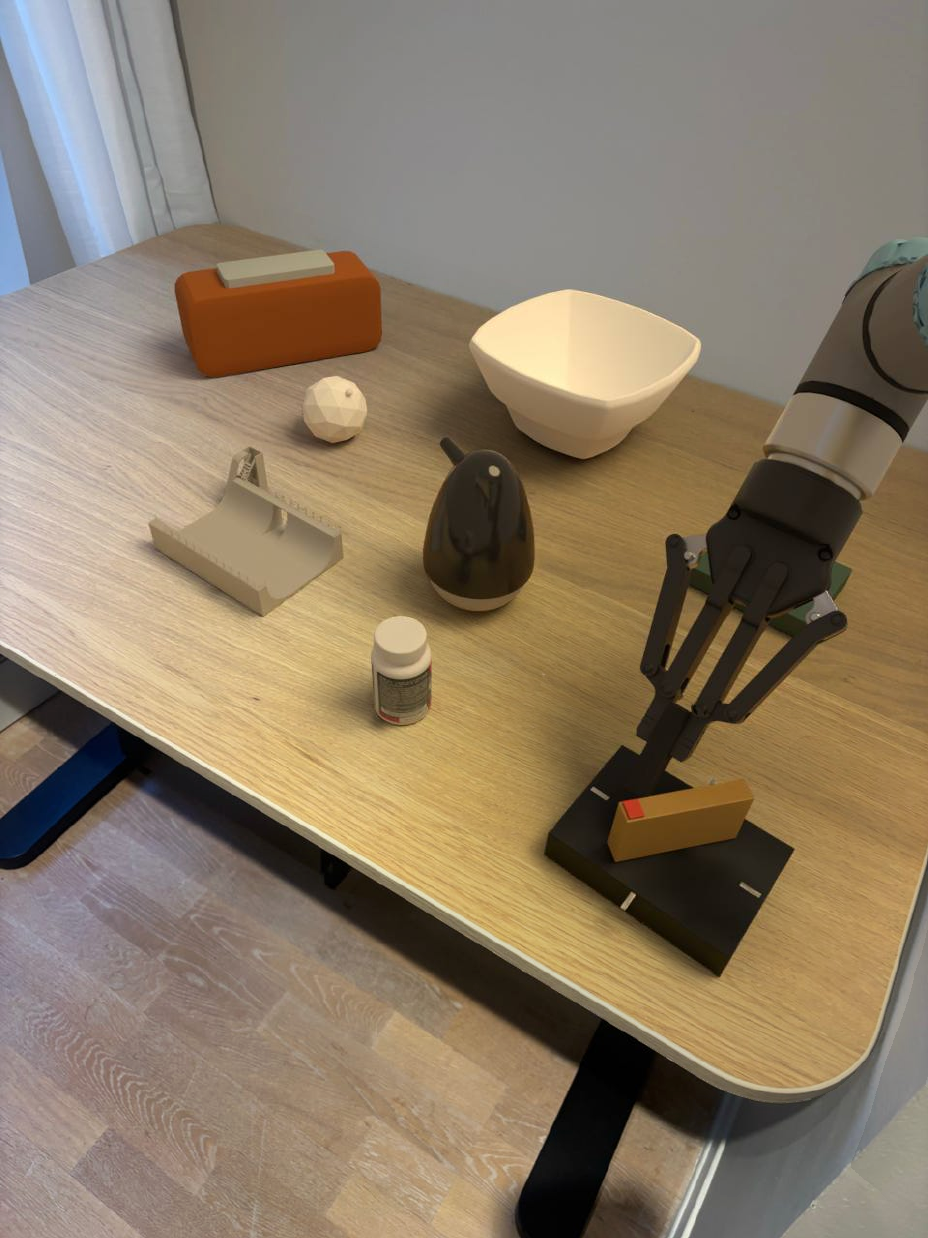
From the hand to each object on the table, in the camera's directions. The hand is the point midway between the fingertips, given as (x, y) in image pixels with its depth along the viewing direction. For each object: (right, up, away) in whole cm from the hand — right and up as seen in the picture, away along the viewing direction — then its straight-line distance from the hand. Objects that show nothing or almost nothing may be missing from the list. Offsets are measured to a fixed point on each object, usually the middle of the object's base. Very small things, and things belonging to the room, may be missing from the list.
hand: (636, 791), depth 59 cm
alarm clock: (-35, +47, +55) cm, 80 cm away
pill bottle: (-17, +5, +13) cm, 22 cm away
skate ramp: (-32, +19, +27) cm, 46 cm away
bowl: (+1, +34, +44) cm, 55 cm away
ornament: (-26, +33, +41) cm, 59 cm away
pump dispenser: (-11, +14, +24) cm, 30 cm away
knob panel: (+3, -6, +4) cm, 7 cm away
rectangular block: (+3, -4, +2) cm, 5 cm away
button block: (+18, +15, +25) cm, 35 cm away
